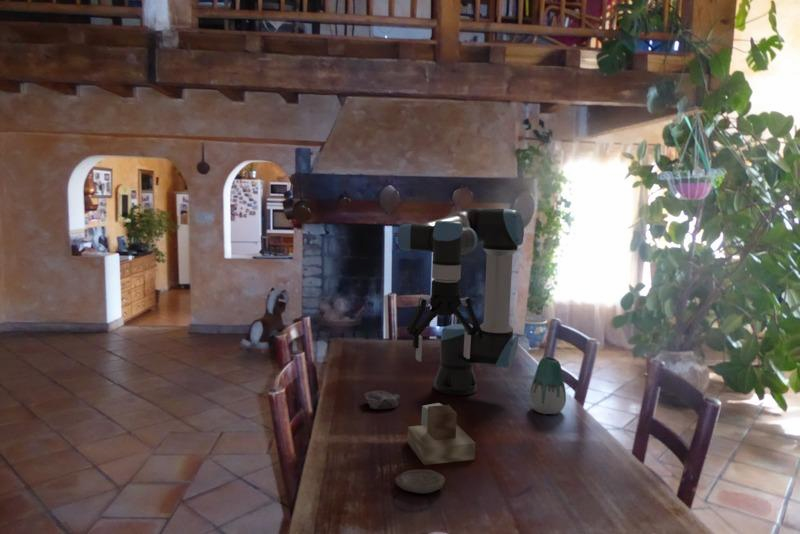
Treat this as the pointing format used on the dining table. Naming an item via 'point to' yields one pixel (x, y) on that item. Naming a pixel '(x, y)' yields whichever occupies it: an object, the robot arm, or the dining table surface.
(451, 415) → the walnut block
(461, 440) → the plinth
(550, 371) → the vase
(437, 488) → the fossil
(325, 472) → the dining table surface
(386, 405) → the rock
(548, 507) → the dining table surface
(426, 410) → the grey green cube
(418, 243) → the robot arm
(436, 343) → the dining table surface
